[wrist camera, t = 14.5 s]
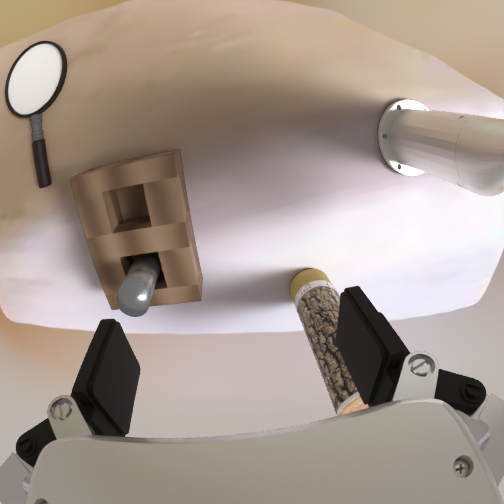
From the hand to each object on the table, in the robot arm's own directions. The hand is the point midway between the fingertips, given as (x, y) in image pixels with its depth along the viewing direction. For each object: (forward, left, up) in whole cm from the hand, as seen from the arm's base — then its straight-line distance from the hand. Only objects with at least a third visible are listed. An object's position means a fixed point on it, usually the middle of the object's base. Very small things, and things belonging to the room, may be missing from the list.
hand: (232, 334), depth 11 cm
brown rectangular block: (+12, +5, -30) cm, 33 cm away
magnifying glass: (+27, -16, -31) cm, 44 cm away
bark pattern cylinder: (-12, +19, -31) cm, 38 cm away
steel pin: (+12, +9, -29) cm, 33 cm away
